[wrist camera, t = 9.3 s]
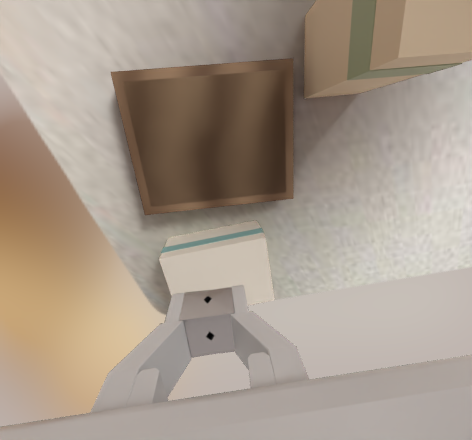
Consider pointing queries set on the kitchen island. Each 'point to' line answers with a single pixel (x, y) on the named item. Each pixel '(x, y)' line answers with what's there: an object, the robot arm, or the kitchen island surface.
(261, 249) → the wide carton
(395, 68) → the slim carton
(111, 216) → the kitchen island surface
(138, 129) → the brown wooden tray
